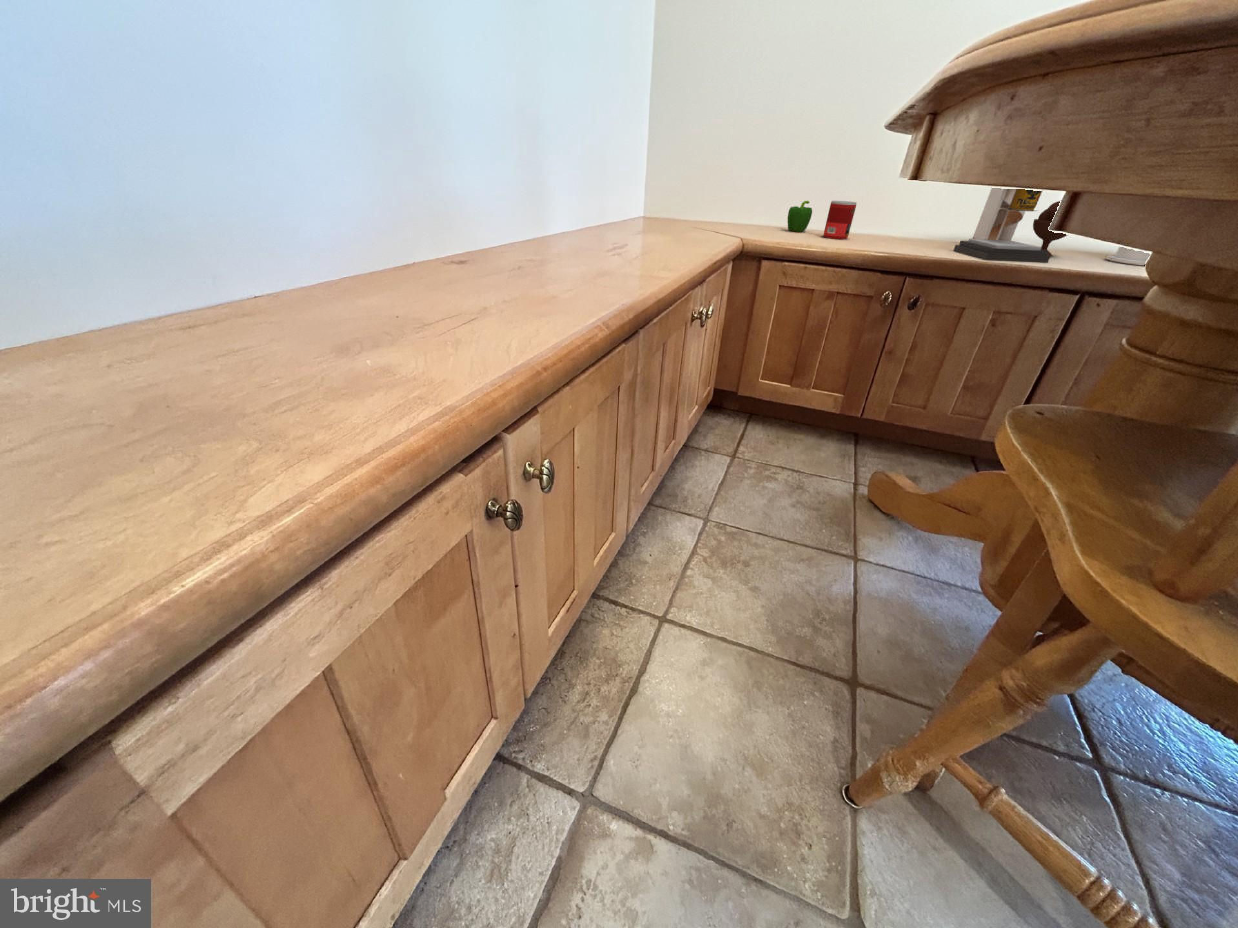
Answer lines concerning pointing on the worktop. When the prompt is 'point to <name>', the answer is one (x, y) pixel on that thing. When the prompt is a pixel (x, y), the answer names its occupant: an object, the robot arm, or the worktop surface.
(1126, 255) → the robot arm
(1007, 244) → the scale pan
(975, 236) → the display case
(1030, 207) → the condiment
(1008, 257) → the scale
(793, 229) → the bell pepper
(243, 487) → the worktop surface
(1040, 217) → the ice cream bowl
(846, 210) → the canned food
